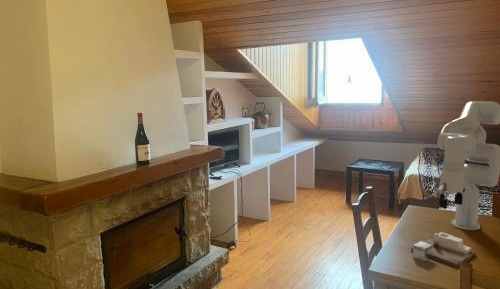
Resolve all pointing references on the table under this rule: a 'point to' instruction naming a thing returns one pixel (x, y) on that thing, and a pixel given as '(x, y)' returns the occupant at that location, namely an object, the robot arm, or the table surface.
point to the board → (447, 254)
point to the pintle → (436, 240)
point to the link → (452, 243)
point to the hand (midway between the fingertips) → (450, 205)
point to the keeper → (421, 250)
